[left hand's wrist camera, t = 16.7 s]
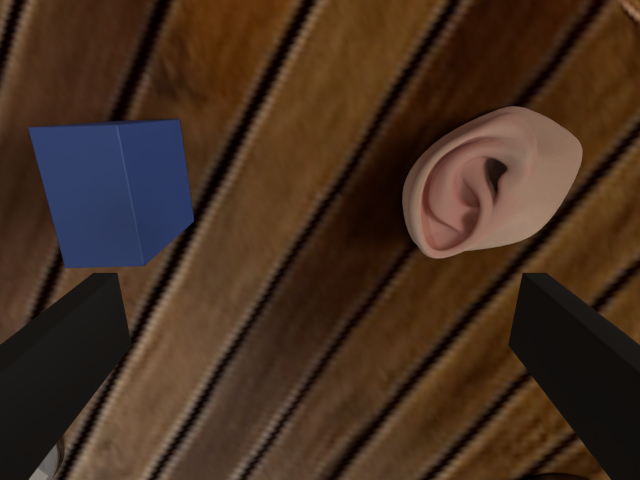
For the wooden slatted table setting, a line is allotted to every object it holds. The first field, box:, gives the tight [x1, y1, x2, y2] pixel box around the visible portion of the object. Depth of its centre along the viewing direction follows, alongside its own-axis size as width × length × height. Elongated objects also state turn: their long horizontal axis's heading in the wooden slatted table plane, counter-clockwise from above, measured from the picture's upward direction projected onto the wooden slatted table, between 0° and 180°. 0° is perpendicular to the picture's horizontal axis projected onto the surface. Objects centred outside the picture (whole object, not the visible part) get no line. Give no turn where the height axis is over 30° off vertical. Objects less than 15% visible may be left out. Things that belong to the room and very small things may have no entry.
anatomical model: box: [402, 106, 582, 258], centre depth 28 cm, size 13×4×12 cm
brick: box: [28, 119, 194, 268], centre depth 26 cm, size 5×8×9 cm, turn 2°
